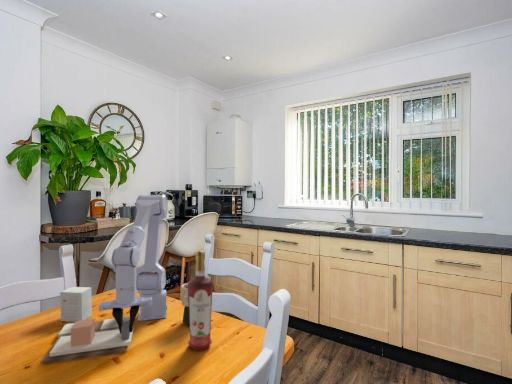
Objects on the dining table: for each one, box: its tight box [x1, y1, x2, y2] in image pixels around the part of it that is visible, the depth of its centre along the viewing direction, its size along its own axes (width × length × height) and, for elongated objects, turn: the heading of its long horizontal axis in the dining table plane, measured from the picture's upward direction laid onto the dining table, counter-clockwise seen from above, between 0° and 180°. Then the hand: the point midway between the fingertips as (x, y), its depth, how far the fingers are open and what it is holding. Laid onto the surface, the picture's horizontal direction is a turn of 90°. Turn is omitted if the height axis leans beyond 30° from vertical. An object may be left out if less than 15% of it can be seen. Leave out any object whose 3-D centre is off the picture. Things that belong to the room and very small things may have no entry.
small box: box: [59, 286, 93, 323], centre depth 104 cm, size 8×6×10 cm
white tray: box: [49, 316, 134, 357], centre depth 86 cm, size 20×9×5 cm, turn 107°
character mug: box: [180, 282, 189, 325], centre depth 101 cm, size 11×7×13 cm, turn 164°
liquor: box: [187, 250, 214, 351], centre depth 86 cm, size 7×7×28 cm
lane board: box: [41, 316, 129, 365], centre depth 90 cm, size 20×21×2 cm
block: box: [71, 318, 96, 347], centre depth 85 cm, size 5×5×5 cm
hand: (126, 331), depth 88 cm, fingers closed on white tray, 2 cm apart
